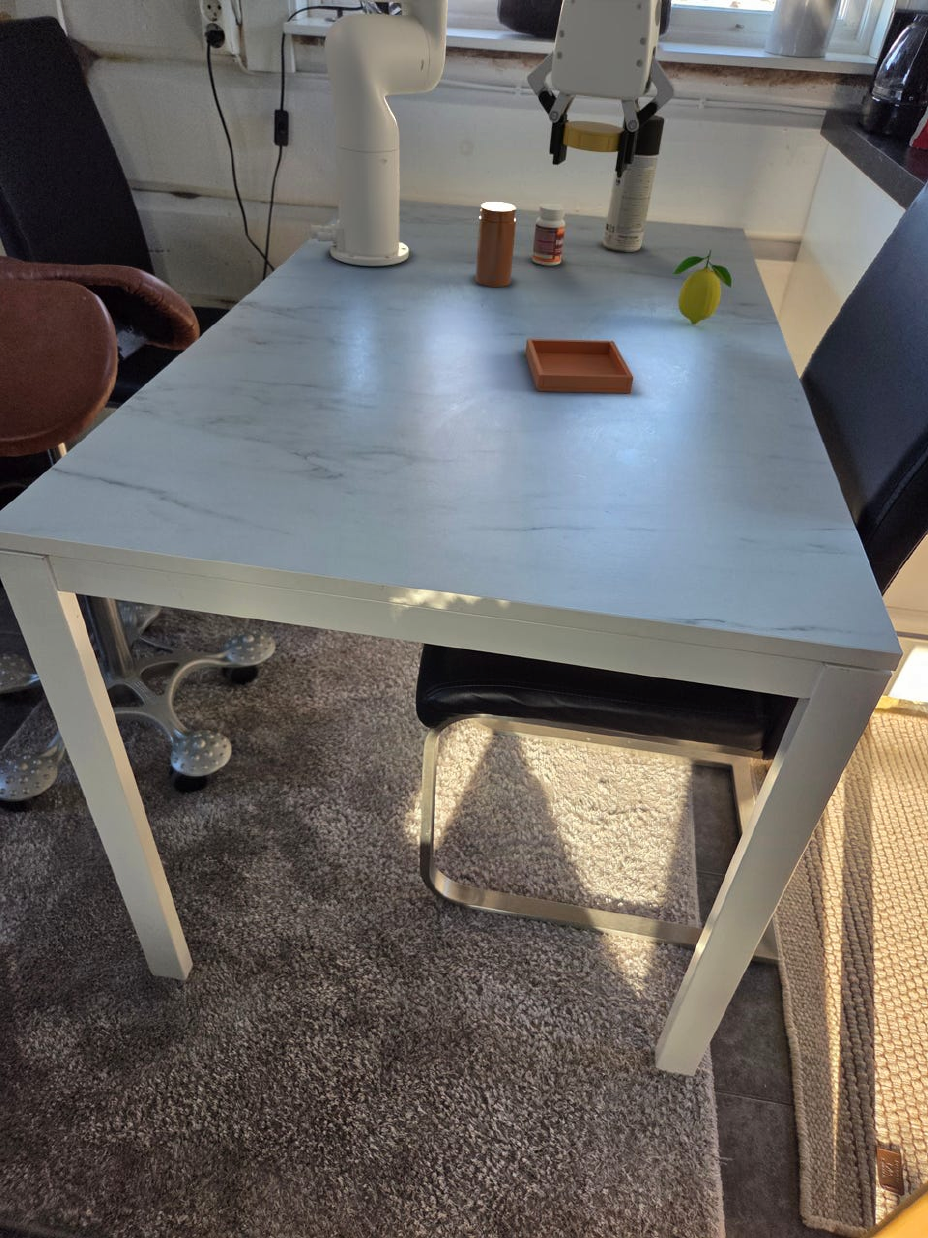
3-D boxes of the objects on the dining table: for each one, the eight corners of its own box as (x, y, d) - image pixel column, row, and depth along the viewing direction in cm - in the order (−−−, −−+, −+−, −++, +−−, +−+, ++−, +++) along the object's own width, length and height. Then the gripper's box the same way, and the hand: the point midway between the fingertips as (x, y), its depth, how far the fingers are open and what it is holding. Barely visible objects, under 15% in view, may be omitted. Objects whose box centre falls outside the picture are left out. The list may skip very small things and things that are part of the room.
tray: (537, 391, 97) (539, 374, 96) (525, 353, 106) (526, 338, 104) (630, 393, 98) (633, 377, 97) (611, 356, 107) (613, 340, 105)
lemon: (662, 323, 117) (677, 249, 110) (678, 313, 121) (694, 240, 114) (707, 335, 114) (726, 260, 108) (722, 324, 118) (741, 250, 112)
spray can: (615, 239, 149) (636, 110, 136) (648, 248, 146) (672, 117, 133) (595, 246, 145) (615, 114, 132) (629, 255, 142) (652, 120, 129)
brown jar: (476, 286, 125) (481, 210, 118) (474, 275, 129) (478, 200, 122) (512, 287, 125) (519, 211, 119) (508, 276, 129) (514, 202, 123)
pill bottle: (559, 267, 134) (565, 211, 129) (530, 264, 135) (535, 208, 130) (562, 259, 138) (569, 204, 133) (534, 255, 139) (539, 201, 133)
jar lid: (627, 145, 91) (630, 127, 90) (614, 155, 87) (617, 135, 86) (571, 136, 93) (573, 118, 92) (555, 145, 88) (558, 126, 87)
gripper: (712, -36, 80) (673, 170, 92) (542, -47, 85) (525, 151, 96) (701, -36, 75) (661, 183, 86) (519, -48, 79) (504, 162, 90)
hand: (589, 165), depth 91 cm, fingers closed on jar lid, 6 cm apart
